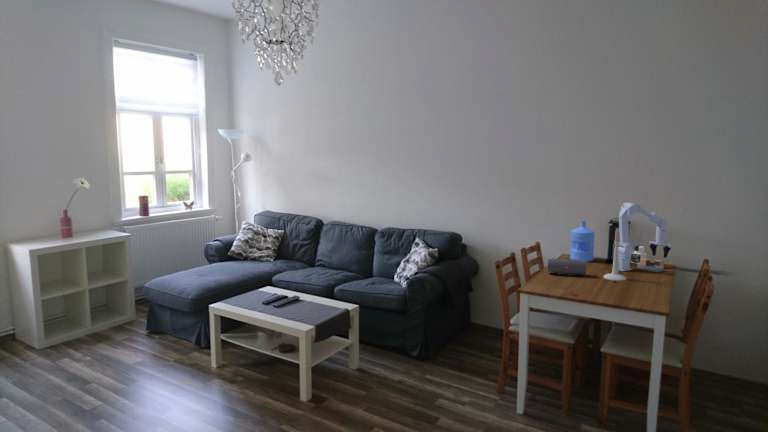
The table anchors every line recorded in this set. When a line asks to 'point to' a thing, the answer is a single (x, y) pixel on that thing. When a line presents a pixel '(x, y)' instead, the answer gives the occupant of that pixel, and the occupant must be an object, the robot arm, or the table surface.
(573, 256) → the water jug
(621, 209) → the robot arm
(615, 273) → the candlestick
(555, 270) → the bluetooth speaker
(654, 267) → the grey rimmed tray
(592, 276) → the table surface
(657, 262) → the tan matte cube
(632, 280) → the table surface
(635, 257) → the medicine bottle
